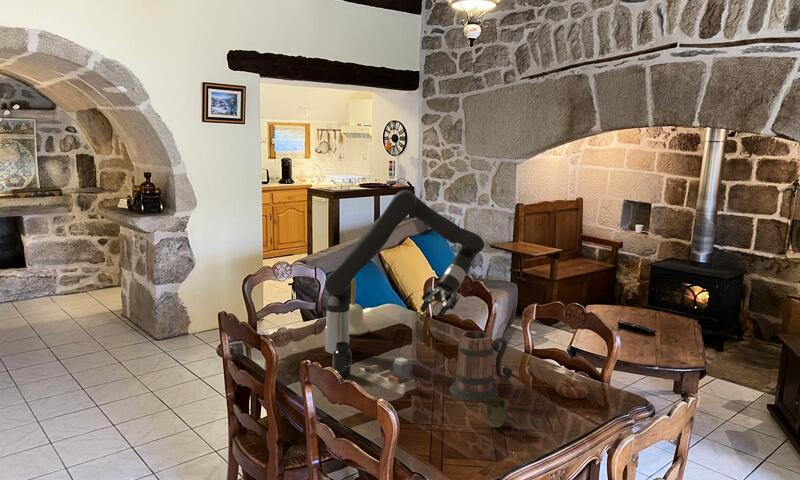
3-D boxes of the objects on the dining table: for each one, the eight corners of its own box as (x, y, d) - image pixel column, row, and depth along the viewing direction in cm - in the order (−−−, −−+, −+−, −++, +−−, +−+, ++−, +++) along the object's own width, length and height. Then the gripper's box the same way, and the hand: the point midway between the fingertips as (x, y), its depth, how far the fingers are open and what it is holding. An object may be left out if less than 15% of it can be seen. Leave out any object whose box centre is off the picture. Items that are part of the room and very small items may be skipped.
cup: (480, 420, 180) (481, 396, 179) (504, 420, 180) (505, 395, 179) (486, 432, 172) (487, 406, 171) (510, 432, 173) (512, 406, 172)
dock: (358, 376, 213) (359, 364, 212) (373, 371, 218) (373, 359, 217) (402, 394, 198) (402, 381, 197) (416, 389, 203) (417, 376, 202)
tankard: (464, 403, 192) (467, 344, 189) (440, 385, 207) (442, 330, 204) (524, 393, 202) (527, 337, 199) (496, 376, 217) (499, 324, 214)
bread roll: (547, 389, 207) (547, 379, 207) (572, 385, 211) (572, 375, 211) (569, 402, 196) (569, 391, 196) (595, 398, 200) (595, 387, 200)
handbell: (328, 333, 264) (328, 278, 260) (349, 325, 276) (350, 273, 273) (355, 339, 255) (356, 283, 251) (376, 331, 267) (377, 278, 264)
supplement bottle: (348, 379, 210) (348, 347, 208) (329, 377, 211) (330, 345, 209) (353, 373, 216) (354, 341, 215) (335, 371, 218) (336, 339, 216)
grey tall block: (392, 387, 204) (393, 359, 203) (400, 384, 207) (401, 356, 206) (400, 390, 201) (401, 362, 200) (408, 387, 204) (409, 359, 203)
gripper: (433, 270, 225) (411, 304, 218) (462, 276, 215) (440, 312, 208) (442, 282, 229) (420, 315, 223) (470, 288, 219) (449, 323, 213)
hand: (430, 313), depth 216 cm, fingers open, 8 cm apart
